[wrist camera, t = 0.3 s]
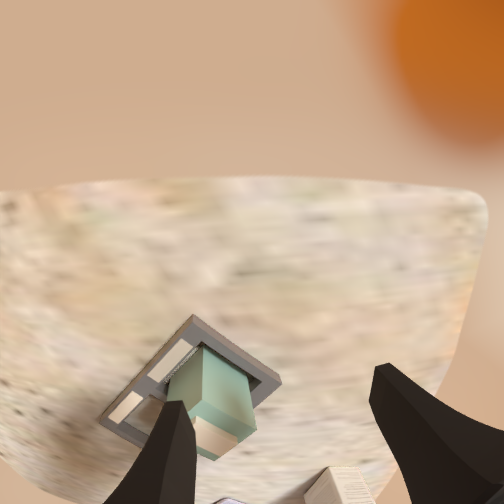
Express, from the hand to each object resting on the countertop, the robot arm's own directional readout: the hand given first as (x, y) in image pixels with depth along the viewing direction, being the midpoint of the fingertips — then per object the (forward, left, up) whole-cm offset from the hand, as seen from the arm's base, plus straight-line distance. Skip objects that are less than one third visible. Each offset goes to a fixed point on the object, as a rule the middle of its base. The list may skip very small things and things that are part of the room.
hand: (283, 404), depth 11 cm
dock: (-10, -2, -11) cm, 14 cm away
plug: (-7, -2, -11) cm, 13 cm away
